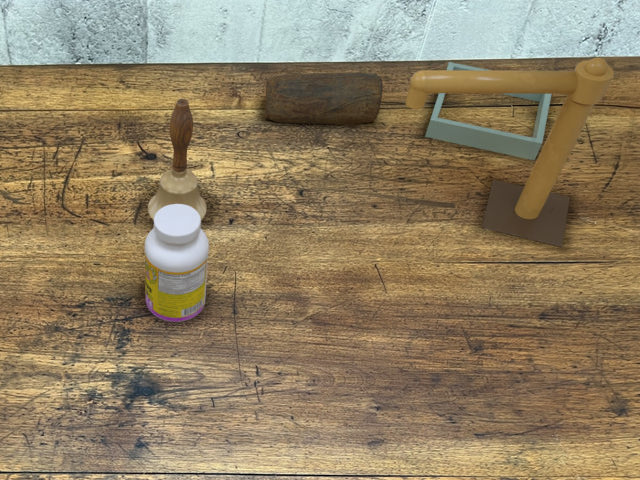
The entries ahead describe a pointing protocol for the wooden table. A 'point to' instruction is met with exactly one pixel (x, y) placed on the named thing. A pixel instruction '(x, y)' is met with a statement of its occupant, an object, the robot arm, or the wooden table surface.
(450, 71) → the spout
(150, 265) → the supplement bottle
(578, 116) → the tap mount
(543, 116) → the grey-green rectangular frame
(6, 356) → the wooden table surface
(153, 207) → the hand bell
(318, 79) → the dark brown wooden log
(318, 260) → the wooden table surface
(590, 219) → the wooden table surface
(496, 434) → the wooden table surface
